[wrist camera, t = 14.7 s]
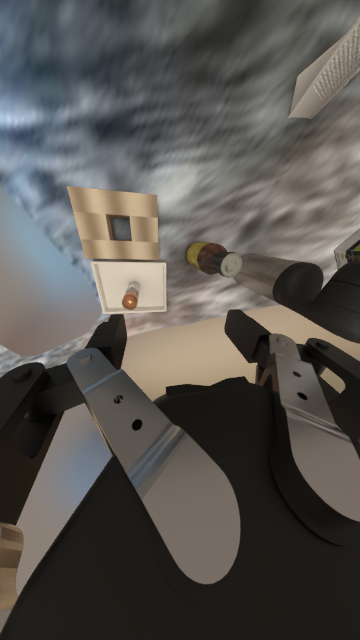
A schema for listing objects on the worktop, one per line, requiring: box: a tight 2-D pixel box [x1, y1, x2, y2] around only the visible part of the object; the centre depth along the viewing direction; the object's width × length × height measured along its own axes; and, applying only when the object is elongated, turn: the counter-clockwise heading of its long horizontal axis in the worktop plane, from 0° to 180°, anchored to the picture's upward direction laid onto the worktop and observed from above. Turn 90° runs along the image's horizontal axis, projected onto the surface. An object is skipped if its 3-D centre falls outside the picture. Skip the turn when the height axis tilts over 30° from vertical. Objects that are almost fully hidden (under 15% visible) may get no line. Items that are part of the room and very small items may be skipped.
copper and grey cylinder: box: [122, 281, 140, 310], centre depth 36 cm, size 3×3×12 cm
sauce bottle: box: [186, 242, 242, 277], centre depth 33 cm, size 6×6×20 cm
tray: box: [91, 260, 166, 314], centre depth 41 cm, size 18×14×4 cm
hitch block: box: [67, 186, 159, 260], centre depth 33 cm, size 16×12×6 cm
